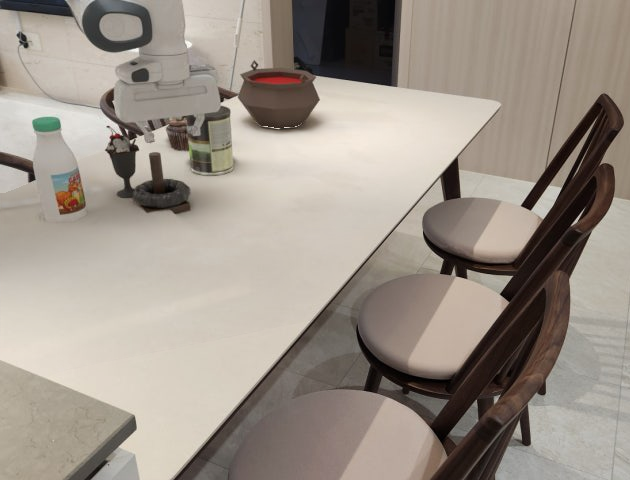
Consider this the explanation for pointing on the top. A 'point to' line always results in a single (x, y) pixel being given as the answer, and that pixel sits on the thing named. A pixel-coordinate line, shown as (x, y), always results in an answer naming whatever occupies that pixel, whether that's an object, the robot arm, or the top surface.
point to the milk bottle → (57, 173)
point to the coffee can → (211, 144)
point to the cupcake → (178, 133)
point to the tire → (149, 199)
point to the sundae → (123, 160)
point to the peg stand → (160, 185)
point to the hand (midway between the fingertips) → (173, 138)
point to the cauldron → (278, 96)
